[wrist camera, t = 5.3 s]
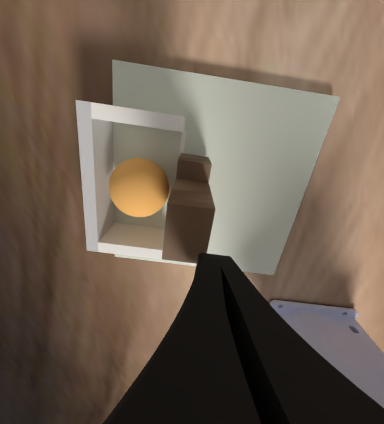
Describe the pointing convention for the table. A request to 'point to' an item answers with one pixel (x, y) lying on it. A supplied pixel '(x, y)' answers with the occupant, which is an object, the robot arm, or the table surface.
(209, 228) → the notched wooden post
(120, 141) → the board
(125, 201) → the ball
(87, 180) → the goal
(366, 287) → the table surface
